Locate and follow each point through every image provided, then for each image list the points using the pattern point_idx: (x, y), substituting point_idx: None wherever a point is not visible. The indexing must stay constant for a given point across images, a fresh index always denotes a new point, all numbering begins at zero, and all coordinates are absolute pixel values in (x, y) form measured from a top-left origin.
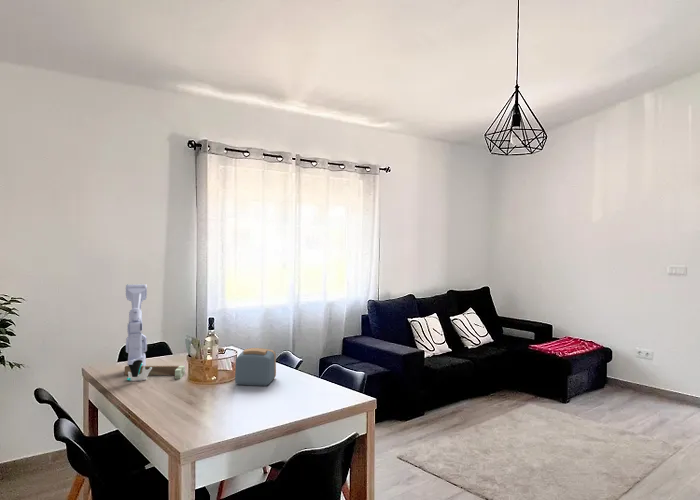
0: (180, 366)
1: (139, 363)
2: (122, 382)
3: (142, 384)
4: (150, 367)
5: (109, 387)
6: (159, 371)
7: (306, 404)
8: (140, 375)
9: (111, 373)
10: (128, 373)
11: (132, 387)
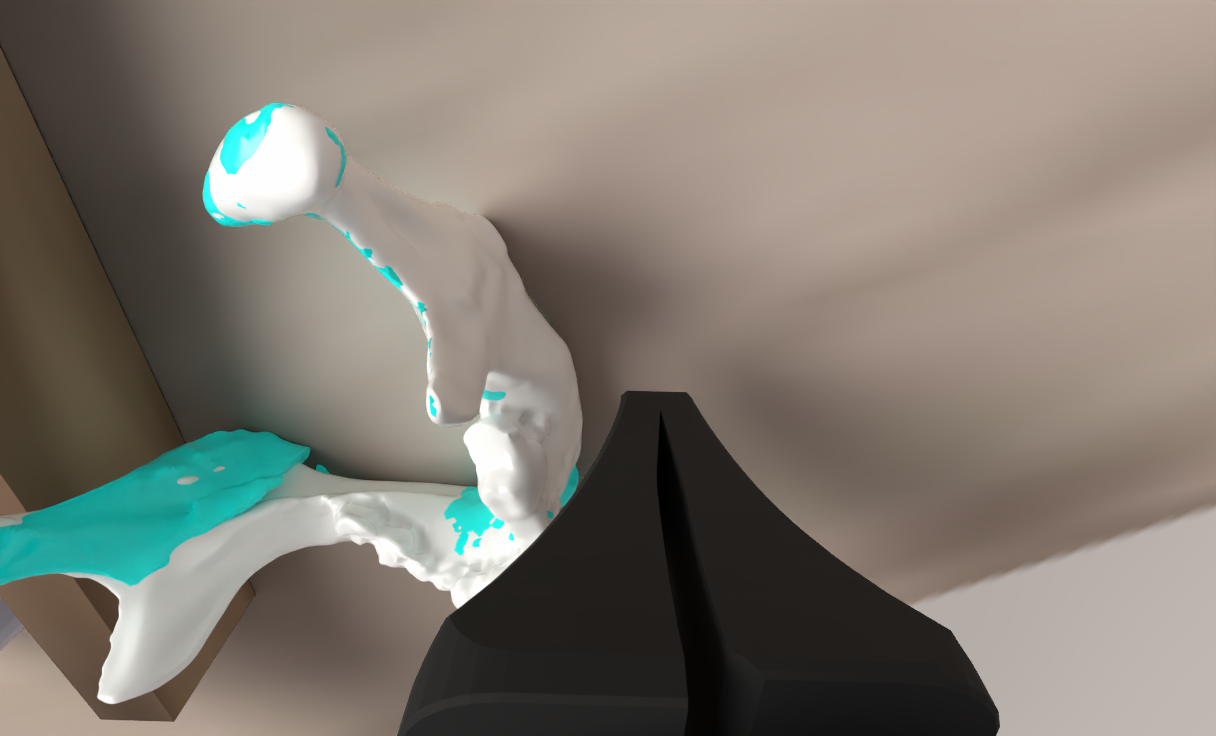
0: None
1: (963, 664)
2: None
3: (875, 173)
4: (330, 171)
5: (911, 597)
6: None
7: None
8: (522, 355)
9: (224, 713)
10: None
11: (1055, 309)
